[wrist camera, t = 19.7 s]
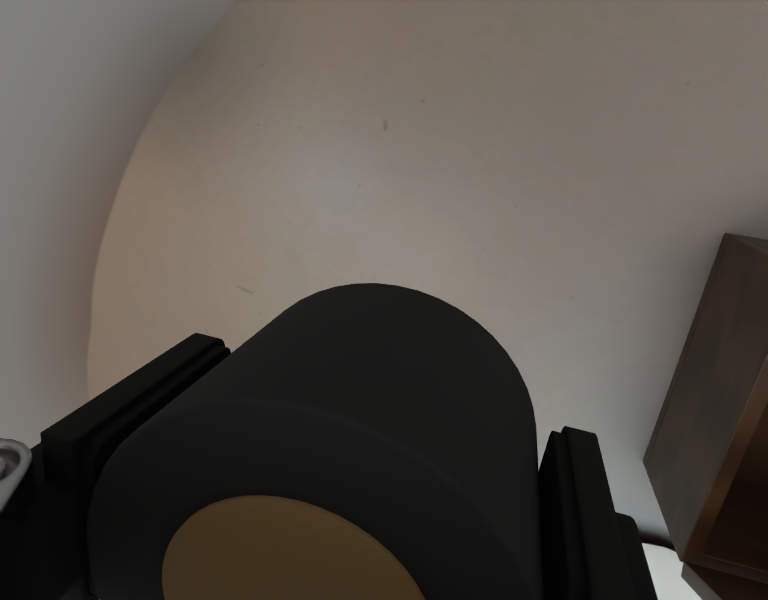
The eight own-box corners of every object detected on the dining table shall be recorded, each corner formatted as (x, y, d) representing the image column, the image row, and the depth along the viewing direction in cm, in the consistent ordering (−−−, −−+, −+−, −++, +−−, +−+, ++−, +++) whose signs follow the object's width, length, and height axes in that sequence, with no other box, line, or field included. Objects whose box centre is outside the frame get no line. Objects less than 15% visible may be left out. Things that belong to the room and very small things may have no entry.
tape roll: (496, 249, 10) (476, 360, 5) (564, 538, 11) (593, 818, 7) (205, 315, 12) (4, 437, 7) (296, 553, 13) (181, 777, 9)
